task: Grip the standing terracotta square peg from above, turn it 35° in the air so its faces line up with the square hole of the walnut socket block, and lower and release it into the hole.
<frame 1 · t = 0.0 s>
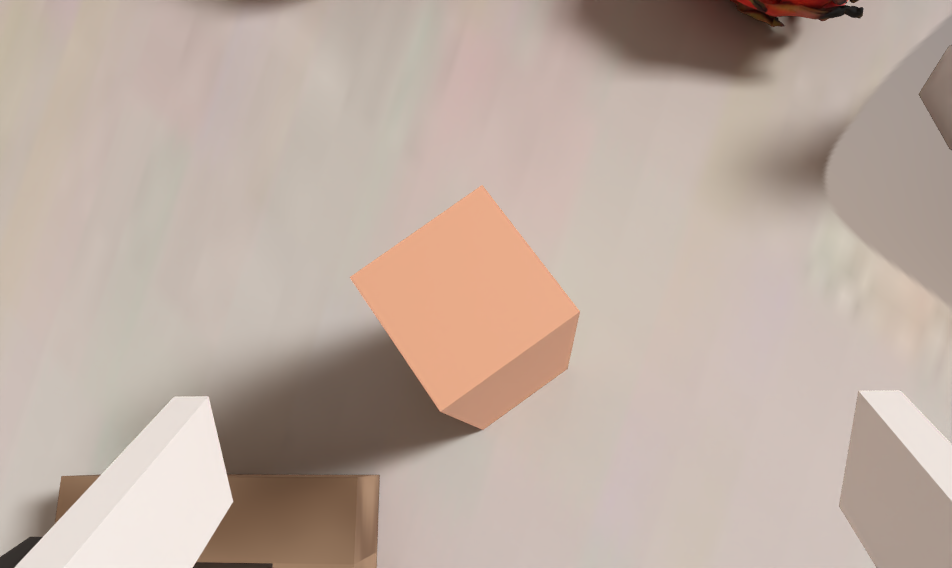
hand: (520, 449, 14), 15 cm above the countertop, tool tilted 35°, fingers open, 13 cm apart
peg: (495, 357, 30), on the countertop
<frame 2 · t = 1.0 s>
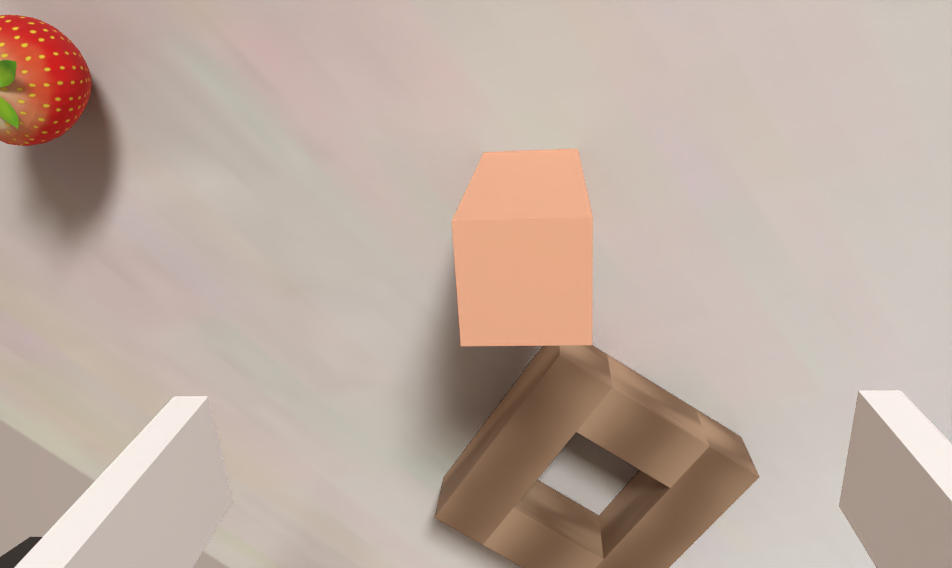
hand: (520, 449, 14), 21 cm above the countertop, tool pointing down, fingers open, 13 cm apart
socket: (586, 457, 39), on the countertop
fruit: (82, 74, 34), on the countertop
peg: (531, 196, 34), on the countertop
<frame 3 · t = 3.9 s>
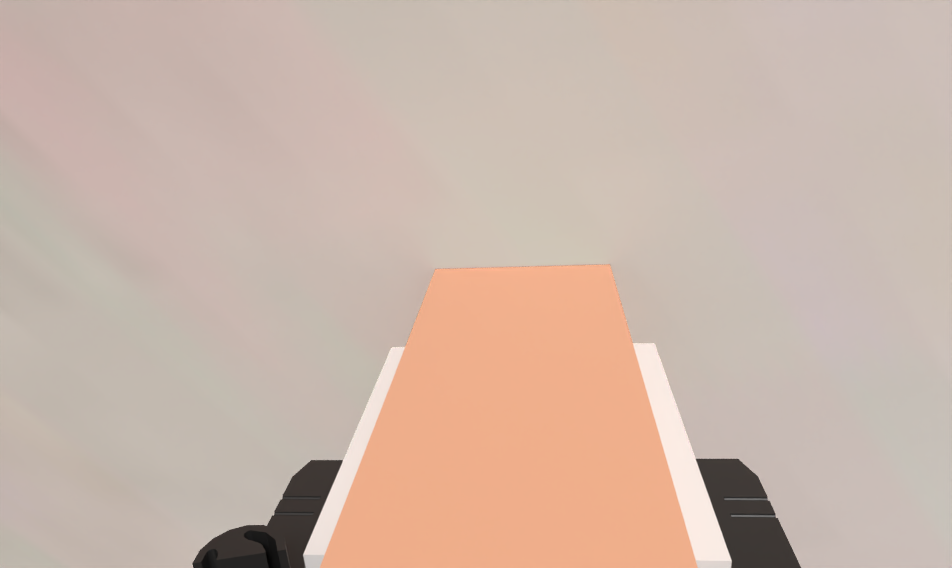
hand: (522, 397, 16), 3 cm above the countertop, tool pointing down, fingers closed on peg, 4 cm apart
peg: (524, 344, 18), on the countertop, touching gripper
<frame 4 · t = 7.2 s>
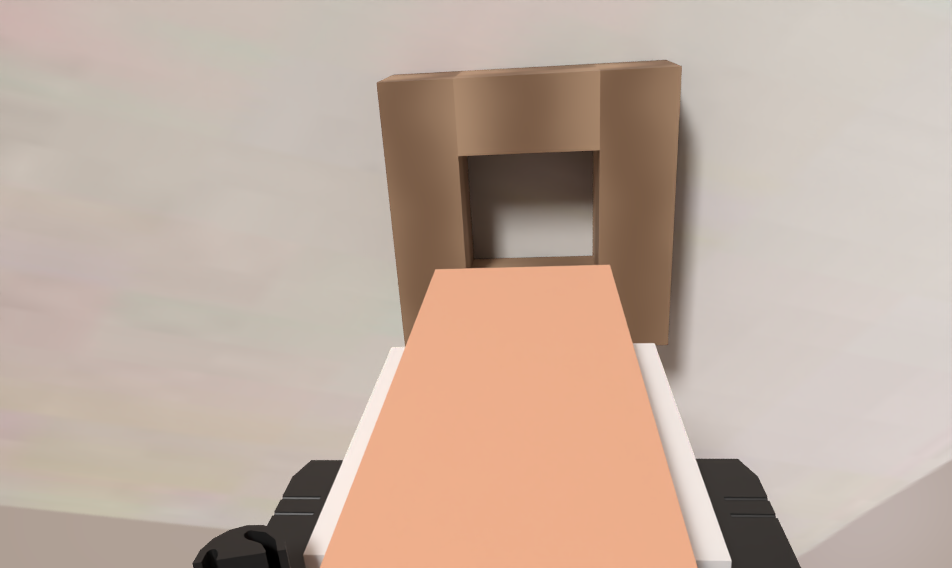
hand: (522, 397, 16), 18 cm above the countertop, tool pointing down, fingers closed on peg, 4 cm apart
socket: (530, 199, 32), on the countertop
peg: (524, 345, 18), point 15 cm above the countertop, touching gripper
when the fingers open (5 cm above the countertop, at t = 10.9 s): peg drops 2 cm, resting in socket.
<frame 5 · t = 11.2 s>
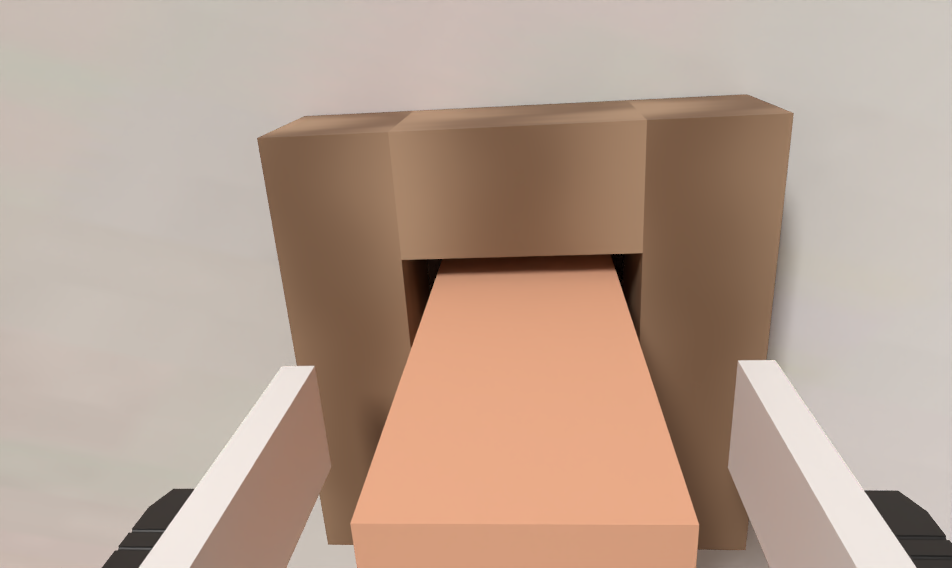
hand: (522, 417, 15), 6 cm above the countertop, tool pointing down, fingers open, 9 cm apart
socket: (525, 307, 21), on the countertop
peg: (528, 307, 21), resting in socket
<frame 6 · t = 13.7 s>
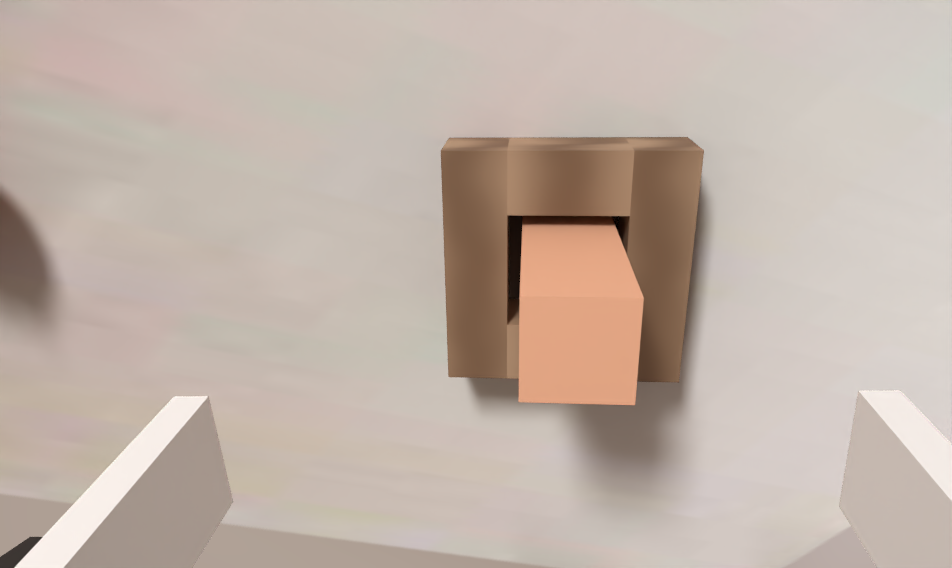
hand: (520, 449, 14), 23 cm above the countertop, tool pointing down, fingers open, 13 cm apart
socket: (563, 249, 37), on the countertop
peg: (564, 249, 37), resting in socket
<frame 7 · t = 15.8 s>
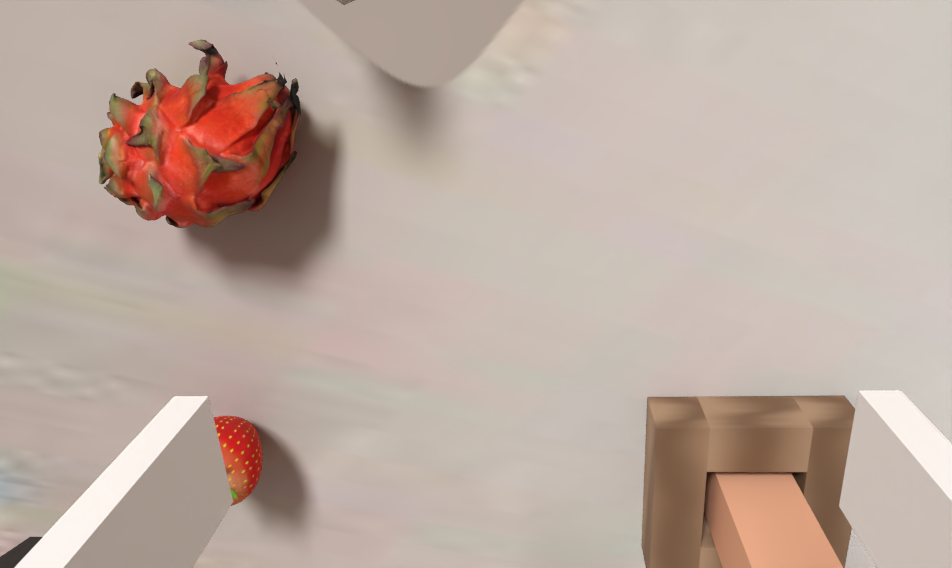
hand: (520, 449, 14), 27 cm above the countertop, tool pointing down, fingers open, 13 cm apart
socket: (736, 475, 45), on the countertop
fruit: (247, 423, 47), on the countertop
peg: (737, 474, 45), resting in socket
dragon fruit: (235, 129, 40), on the countertop
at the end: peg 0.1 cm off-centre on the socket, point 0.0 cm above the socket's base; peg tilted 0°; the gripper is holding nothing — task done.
